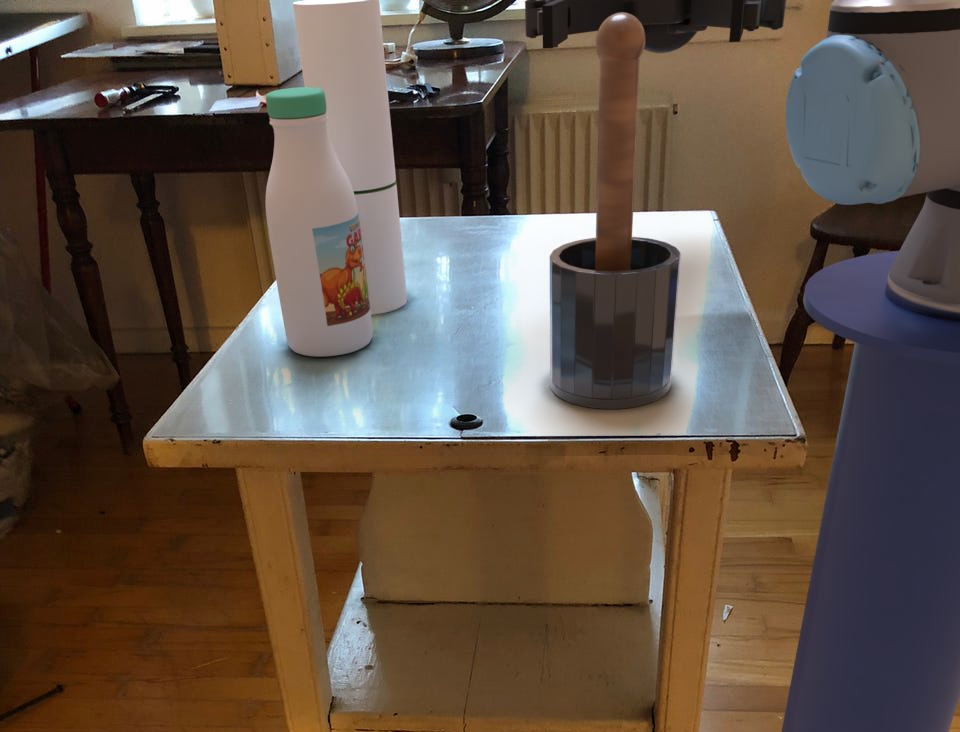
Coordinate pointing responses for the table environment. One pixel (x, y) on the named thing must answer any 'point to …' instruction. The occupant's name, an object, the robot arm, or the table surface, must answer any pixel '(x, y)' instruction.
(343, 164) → the cylindrical container
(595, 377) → the slatted pencil holder
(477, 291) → the table surface
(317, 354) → the milk bottle
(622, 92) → the long cylindrical rod
